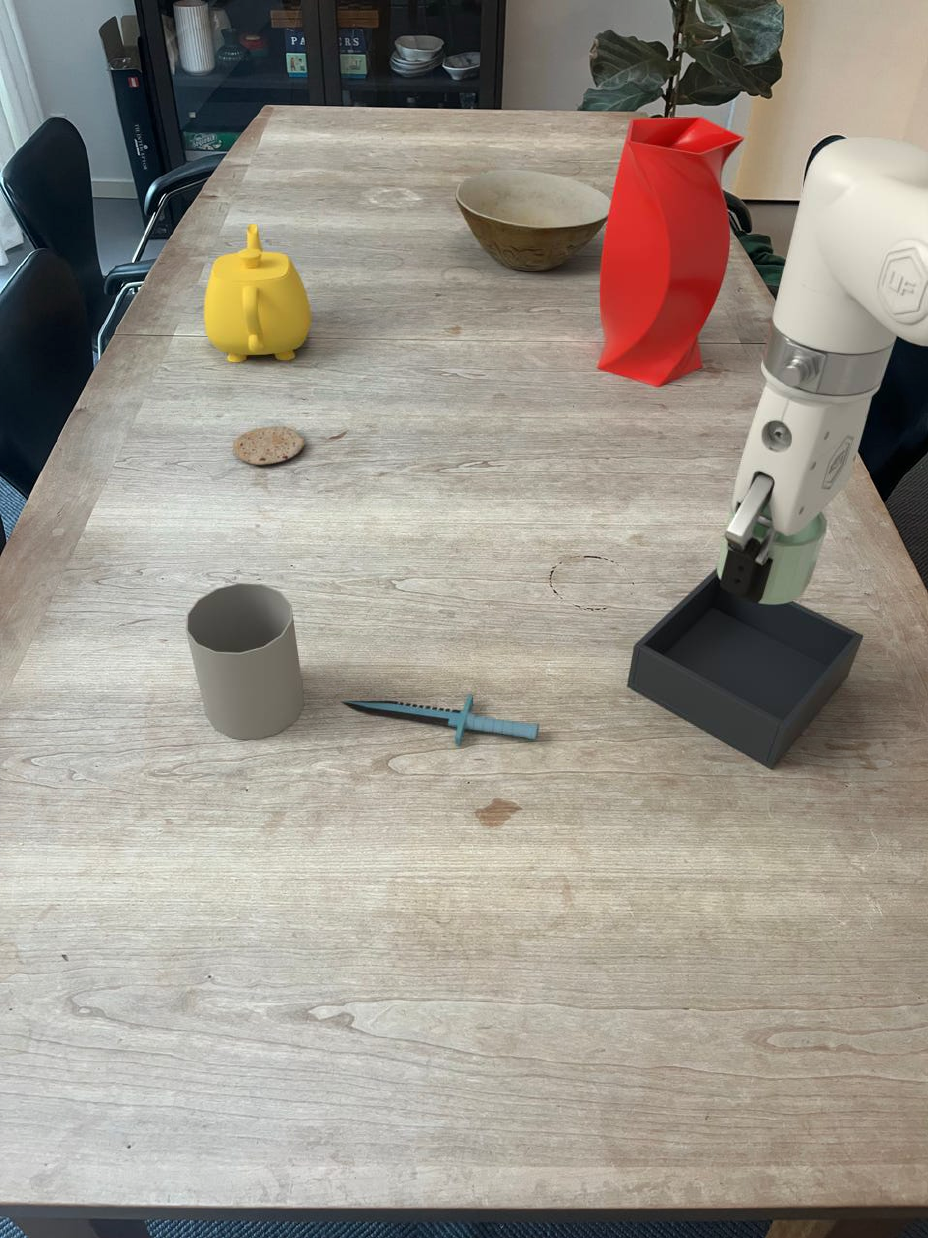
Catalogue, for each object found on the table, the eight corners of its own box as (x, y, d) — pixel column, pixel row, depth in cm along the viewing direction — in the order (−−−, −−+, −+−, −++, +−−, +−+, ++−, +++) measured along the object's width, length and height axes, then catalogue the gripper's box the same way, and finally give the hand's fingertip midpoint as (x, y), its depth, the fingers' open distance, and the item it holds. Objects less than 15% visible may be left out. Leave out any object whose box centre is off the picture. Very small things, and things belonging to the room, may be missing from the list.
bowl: (615, 237, 162) (623, 173, 156) (595, 299, 145) (602, 230, 139) (474, 222, 166) (475, 159, 159) (438, 280, 149) (438, 212, 142)
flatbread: (239, 472, 111) (238, 465, 111) (229, 437, 116) (227, 430, 116) (311, 460, 113) (311, 452, 113) (297, 426, 118) (297, 418, 118)
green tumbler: (823, 572, 76) (842, 514, 73) (782, 617, 73) (800, 558, 69) (743, 536, 80) (758, 478, 76) (700, 577, 76) (713, 519, 72)
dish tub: (847, 676, 89) (864, 635, 86) (771, 770, 81) (786, 728, 78) (709, 606, 96) (719, 565, 93) (626, 686, 88) (633, 644, 85)
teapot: (204, 379, 127) (187, 282, 118) (215, 309, 141) (200, 218, 133) (314, 374, 128) (304, 278, 119) (313, 305, 142) (304, 215, 134)
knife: (330, 718, 84) (349, 676, 88) (332, 727, 85) (350, 686, 88) (532, 747, 81) (542, 703, 84) (532, 757, 82) (542, 712, 85)
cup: (305, 734, 83) (293, 648, 77) (205, 745, 82) (184, 659, 76) (301, 663, 90) (289, 578, 83) (207, 673, 89) (188, 587, 82)
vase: (614, 325, 139) (640, 108, 120) (717, 344, 135) (761, 123, 117) (583, 375, 129) (607, 145, 110) (694, 397, 125) (739, 163, 106)
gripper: (820, 429, 57) (754, 652, 69) (935, 324, 67) (859, 536, 79) (704, 385, 60) (660, 605, 72) (830, 291, 70) (773, 499, 82)
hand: (764, 567), depth 76 cm, fingers closed on green tumbler, 6 cm apart
